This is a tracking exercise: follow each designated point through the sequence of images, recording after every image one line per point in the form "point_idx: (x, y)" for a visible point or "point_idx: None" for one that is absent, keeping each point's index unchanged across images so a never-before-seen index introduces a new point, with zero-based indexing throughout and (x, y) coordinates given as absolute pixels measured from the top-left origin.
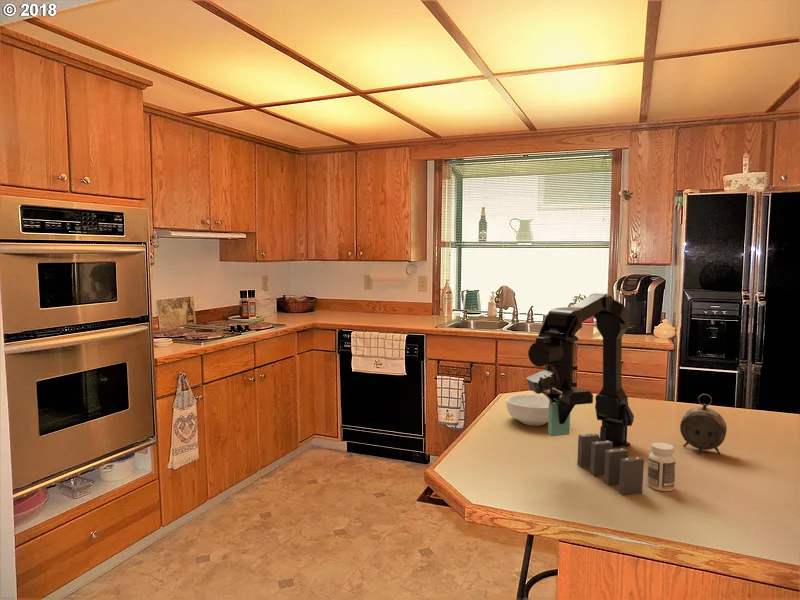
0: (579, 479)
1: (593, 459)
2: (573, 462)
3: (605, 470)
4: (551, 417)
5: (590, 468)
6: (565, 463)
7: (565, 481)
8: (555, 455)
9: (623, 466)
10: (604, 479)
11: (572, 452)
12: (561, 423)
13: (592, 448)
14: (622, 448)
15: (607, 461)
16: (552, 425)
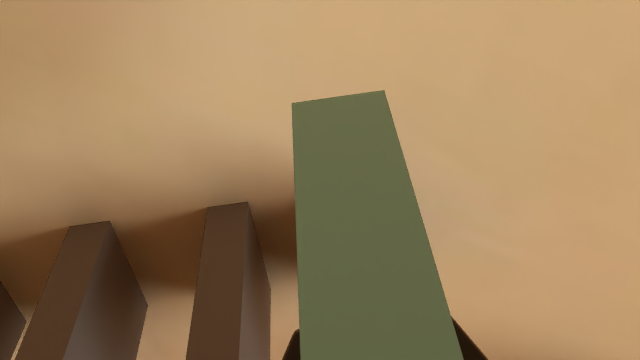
0: (155, 111)
1: (211, 282)
2: (435, 177)
3: (79, 282)
4: (320, 310)
5: (243, 225)
6: (433, 125)
7: (112, 2)
8: (584, 114)
9: None
10: (99, 237)
11: (585, 227)
12: (295, 344)
13: (222, 341)
14: None
15: (41, 340)
16: (296, 213)
